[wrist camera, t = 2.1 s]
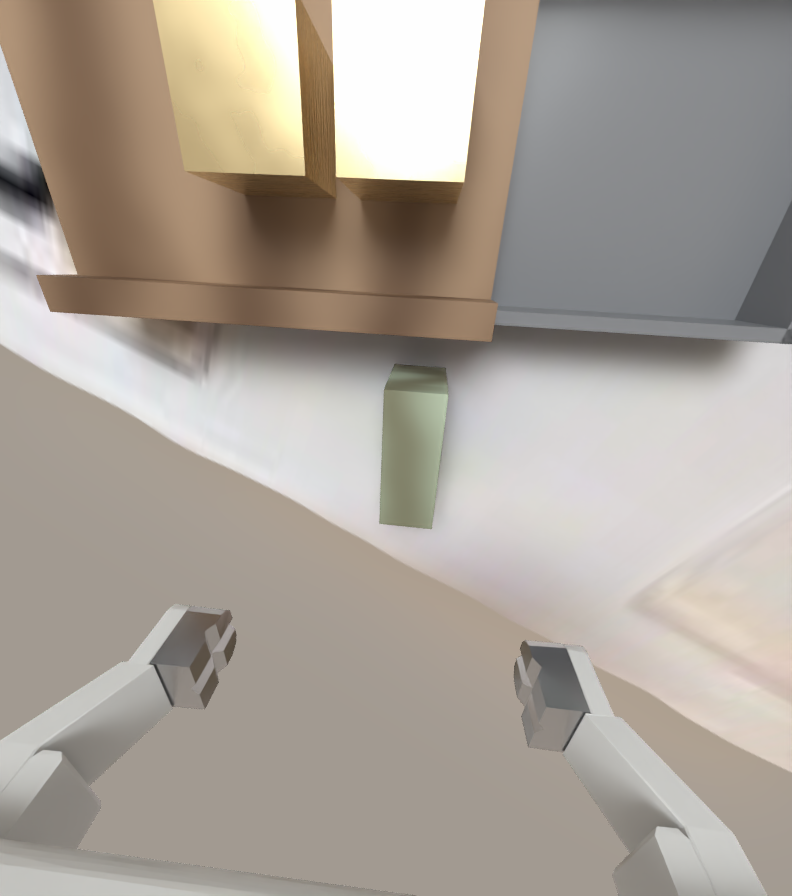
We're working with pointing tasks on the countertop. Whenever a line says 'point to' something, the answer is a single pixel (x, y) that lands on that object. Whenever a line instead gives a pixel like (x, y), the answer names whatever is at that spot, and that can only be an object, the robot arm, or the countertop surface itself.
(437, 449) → the bar
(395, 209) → the slot board
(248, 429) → the countertop surface
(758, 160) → the tray
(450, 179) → the brass block
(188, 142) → the brass block
